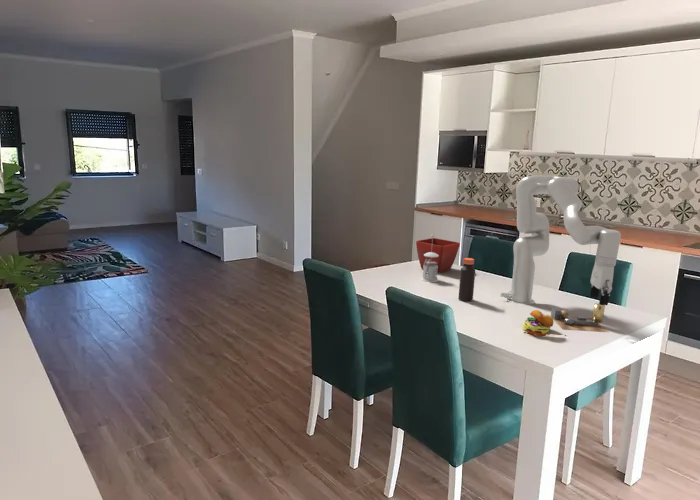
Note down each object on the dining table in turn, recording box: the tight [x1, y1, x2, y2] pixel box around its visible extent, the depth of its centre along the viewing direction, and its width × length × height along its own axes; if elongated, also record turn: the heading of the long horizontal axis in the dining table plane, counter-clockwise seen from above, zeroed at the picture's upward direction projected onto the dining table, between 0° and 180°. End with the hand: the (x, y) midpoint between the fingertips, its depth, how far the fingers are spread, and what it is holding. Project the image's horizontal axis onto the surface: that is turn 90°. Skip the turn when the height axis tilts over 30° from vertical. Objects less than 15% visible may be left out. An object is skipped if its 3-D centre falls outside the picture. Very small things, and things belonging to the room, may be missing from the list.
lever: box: [564, 303, 606, 325], centre depth 209 cm, size 15×5×9 cm, turn 87°
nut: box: [561, 309, 570, 319], centre depth 217 cm, size 4×4×4 cm
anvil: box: [550, 306, 562, 321], centre depth 217 cm, size 2×5×4 cm, turn 175°
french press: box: [420, 234, 439, 283], centre depth 275 cm, size 10×12×25 cm
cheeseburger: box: [522, 309, 554, 337], centre depth 202 cm, size 10×11×10 cm
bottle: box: [458, 257, 476, 303], centre depth 241 cm, size 7×7×20 cm
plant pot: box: [415, 237, 461, 274], centre depth 301 cm, size 19×19×17 cm
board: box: [553, 316, 609, 333], centre depth 211 cm, size 18×17×1 cm
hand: (598, 300), depth 208 cm, fingers open, 9 cm apart
